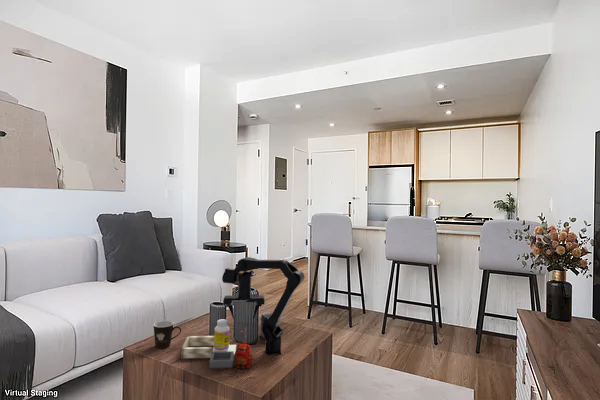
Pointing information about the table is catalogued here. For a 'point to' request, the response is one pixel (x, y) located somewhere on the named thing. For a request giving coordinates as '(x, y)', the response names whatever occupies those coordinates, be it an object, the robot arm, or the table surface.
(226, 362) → the box
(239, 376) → the table surface
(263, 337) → the box
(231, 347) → the pad
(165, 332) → the coffee mug
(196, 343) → the wooden tray
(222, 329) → the supplement bottle
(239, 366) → the red clay folk toy
